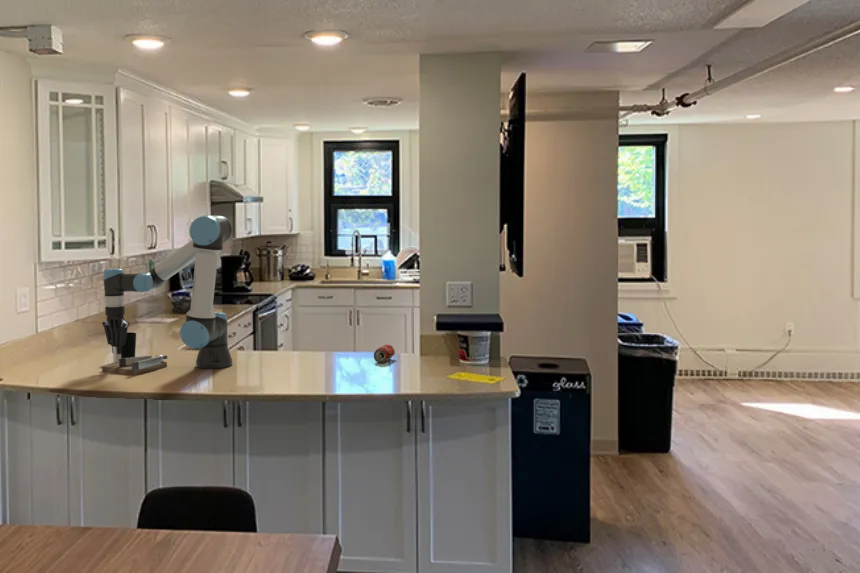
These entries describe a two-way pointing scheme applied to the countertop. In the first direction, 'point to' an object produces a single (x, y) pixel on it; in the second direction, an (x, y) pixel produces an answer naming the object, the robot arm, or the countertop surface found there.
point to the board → (128, 369)
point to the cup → (129, 346)
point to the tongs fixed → (148, 362)
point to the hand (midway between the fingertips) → (117, 361)
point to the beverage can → (384, 353)
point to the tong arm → (132, 360)
